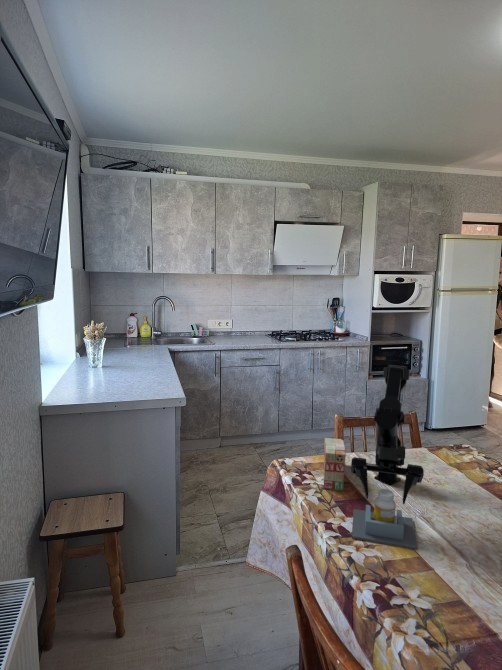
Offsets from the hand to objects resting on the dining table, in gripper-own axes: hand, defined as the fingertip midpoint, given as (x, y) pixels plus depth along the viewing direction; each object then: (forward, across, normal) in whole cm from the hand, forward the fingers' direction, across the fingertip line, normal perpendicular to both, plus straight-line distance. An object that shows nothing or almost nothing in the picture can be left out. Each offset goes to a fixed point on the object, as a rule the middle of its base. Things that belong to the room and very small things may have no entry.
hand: (385, 501), depth 115 cm
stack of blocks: (-15, -16, +28) cm, 35 cm away
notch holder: (+5, 0, +7) cm, 9 cm away
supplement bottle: (+5, 0, +7) cm, 8 cm away
